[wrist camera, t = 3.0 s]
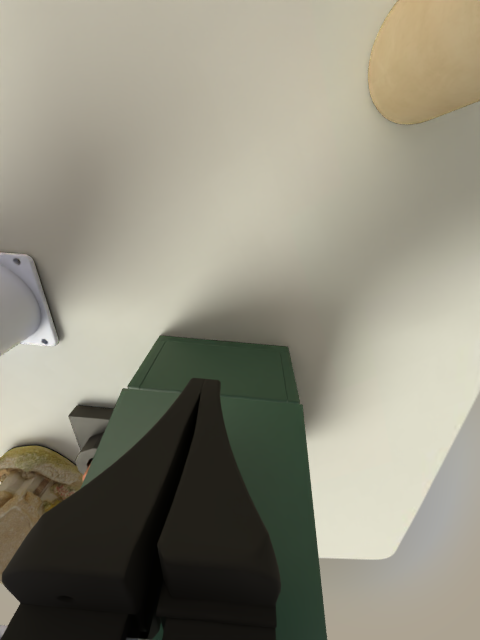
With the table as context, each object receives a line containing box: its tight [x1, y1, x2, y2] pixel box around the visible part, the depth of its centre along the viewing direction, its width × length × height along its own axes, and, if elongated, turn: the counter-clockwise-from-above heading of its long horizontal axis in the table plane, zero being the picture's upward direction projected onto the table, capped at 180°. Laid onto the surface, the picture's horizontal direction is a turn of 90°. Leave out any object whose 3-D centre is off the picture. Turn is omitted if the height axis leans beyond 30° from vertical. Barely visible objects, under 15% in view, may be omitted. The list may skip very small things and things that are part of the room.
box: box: [128, 336, 300, 404], centre depth 22 cm, size 14×11×6 cm
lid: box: [80, 388, 327, 640], centre depth 11 cm, size 14×11×1 cm
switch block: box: [69, 405, 114, 475], centre depth 27 cm, size 8×10×3 cm
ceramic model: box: [0, 446, 83, 585], centre depth 28 cm, size 14×11×10 cm
